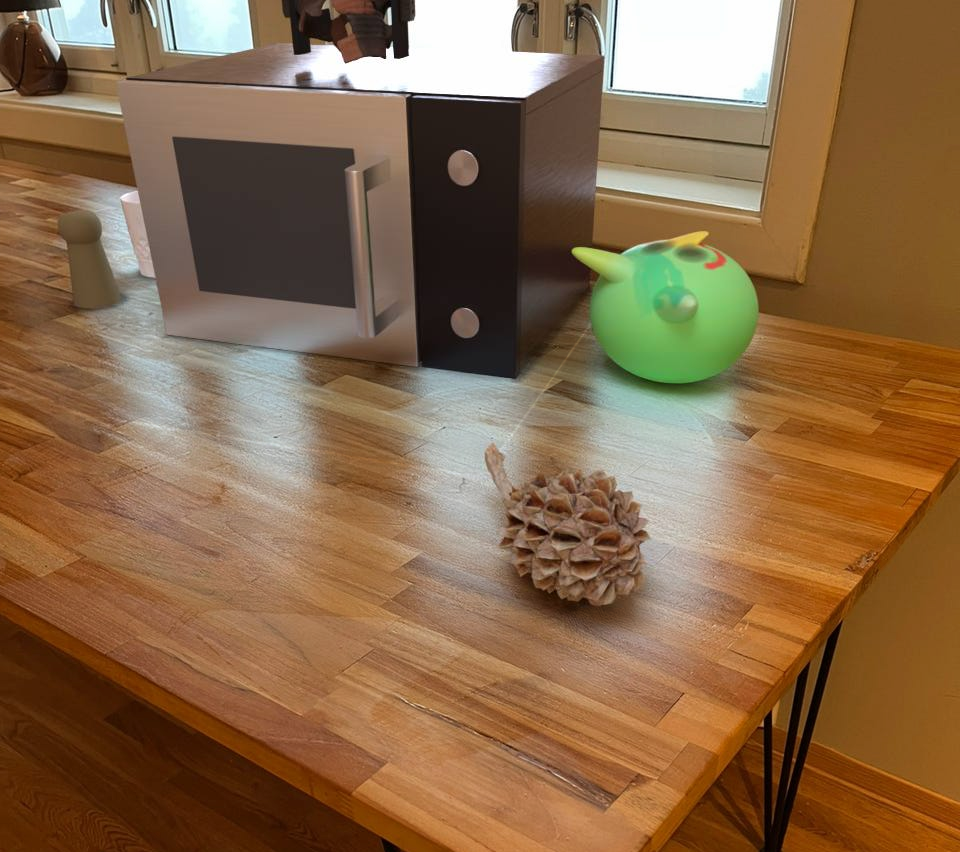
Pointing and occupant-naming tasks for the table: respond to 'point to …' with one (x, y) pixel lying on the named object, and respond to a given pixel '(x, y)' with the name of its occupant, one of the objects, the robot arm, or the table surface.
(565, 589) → the pine cone
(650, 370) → the toy bird
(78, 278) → the tan game pawn
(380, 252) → the microwave door
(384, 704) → the table surface
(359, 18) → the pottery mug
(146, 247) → the white cup
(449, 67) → the microwave
